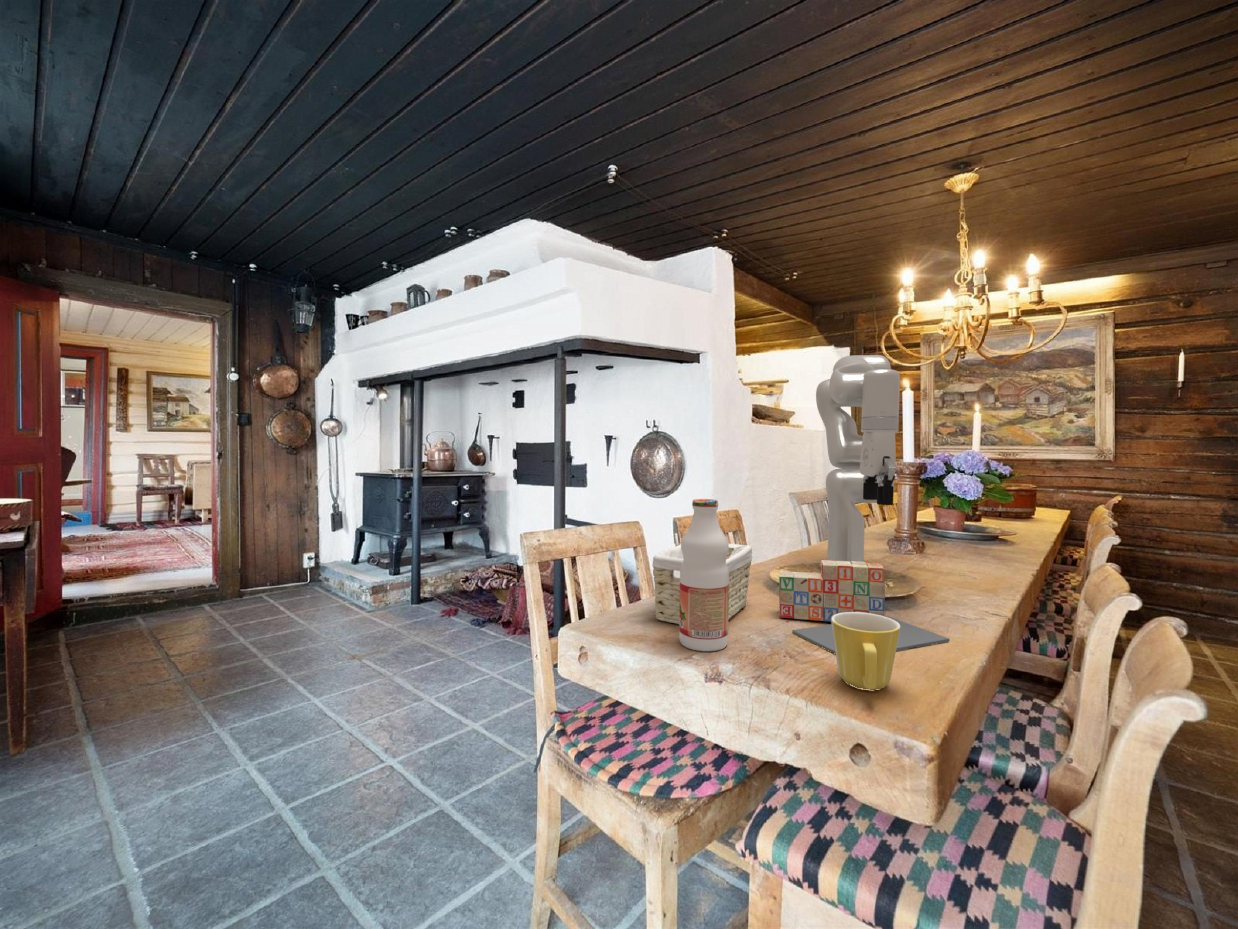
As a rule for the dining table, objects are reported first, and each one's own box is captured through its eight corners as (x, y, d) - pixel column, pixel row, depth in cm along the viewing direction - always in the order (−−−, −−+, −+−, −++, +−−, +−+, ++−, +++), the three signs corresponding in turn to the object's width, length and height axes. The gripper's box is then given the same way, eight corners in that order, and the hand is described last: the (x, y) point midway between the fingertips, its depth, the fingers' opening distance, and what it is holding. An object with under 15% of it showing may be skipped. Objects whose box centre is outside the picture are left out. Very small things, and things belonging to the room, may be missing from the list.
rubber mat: (792, 633, 114) (792, 630, 114) (887, 618, 124) (887, 615, 124) (846, 660, 100) (847, 657, 100) (949, 641, 110) (949, 638, 110)
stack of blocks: (778, 618, 123) (778, 562, 123) (779, 611, 129) (779, 557, 129) (885, 626, 116) (884, 567, 116) (881, 618, 122) (880, 562, 122)
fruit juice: (708, 656, 101) (710, 504, 100) (669, 642, 108) (670, 499, 107) (737, 643, 108) (740, 500, 107) (699, 631, 115) (700, 496, 113)
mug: (834, 666, 98) (836, 607, 97) (899, 679, 93) (901, 617, 92) (821, 698, 86) (822, 631, 85) (895, 714, 81) (897, 643, 80)
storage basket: (691, 595, 141) (692, 538, 141) (754, 605, 133) (755, 544, 132) (648, 622, 121) (649, 555, 120) (719, 636, 112) (721, 564, 112)
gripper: (851, 426, 133) (849, 497, 134) (874, 425, 116) (872, 506, 117) (884, 426, 132) (881, 498, 133) (912, 425, 115) (910, 507, 116)
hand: (877, 502), depth 125 cm, fingers open, 9 cm apart
